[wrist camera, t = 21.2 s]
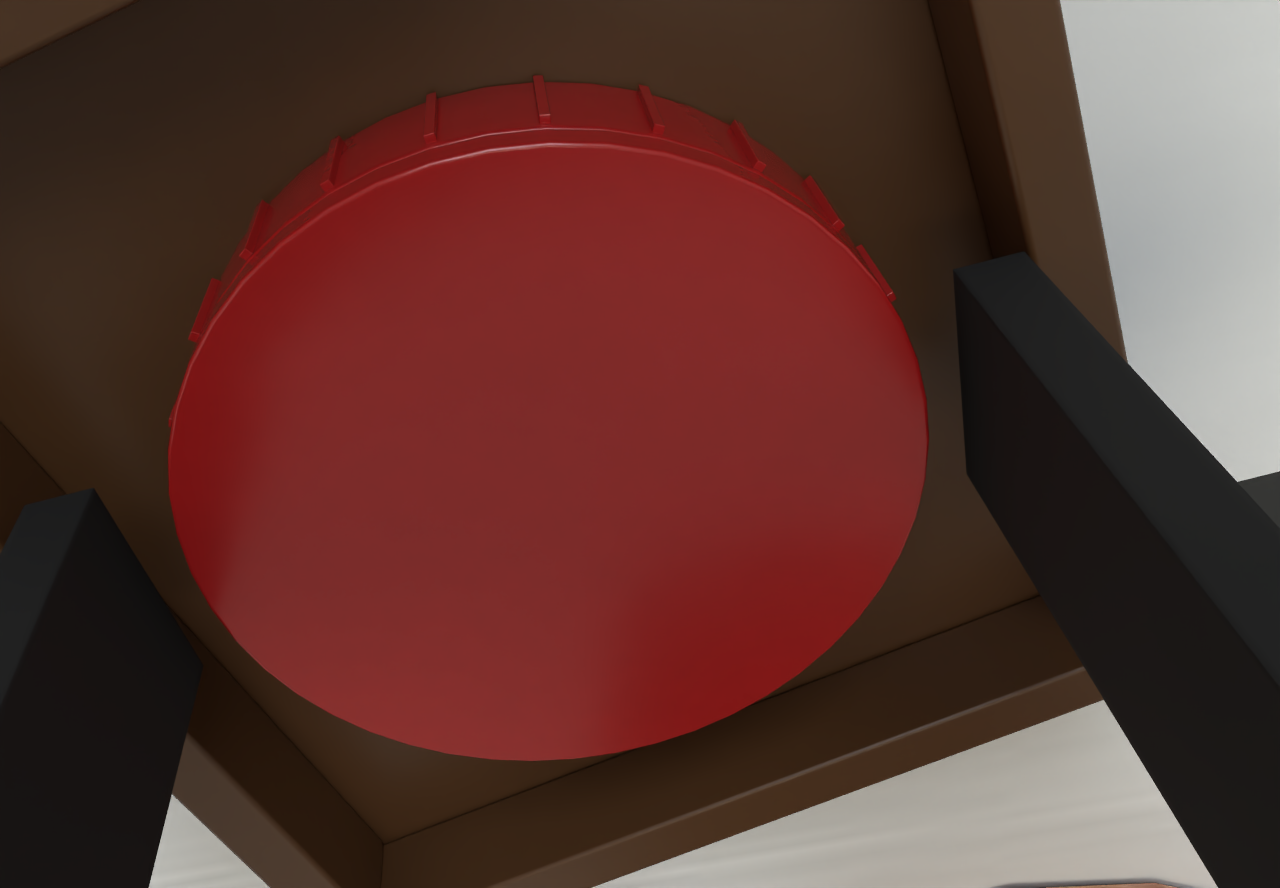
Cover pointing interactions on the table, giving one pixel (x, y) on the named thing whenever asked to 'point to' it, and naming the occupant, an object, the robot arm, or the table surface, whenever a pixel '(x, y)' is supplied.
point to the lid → (545, 425)
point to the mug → (1123, 886)
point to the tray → (455, 63)
